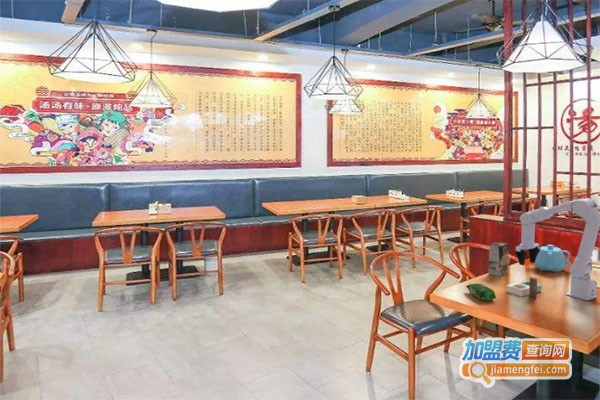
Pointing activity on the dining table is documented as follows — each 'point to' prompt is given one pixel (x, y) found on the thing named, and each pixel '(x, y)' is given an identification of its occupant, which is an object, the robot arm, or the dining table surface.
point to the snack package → (481, 291)
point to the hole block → (521, 288)
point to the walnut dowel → (533, 288)
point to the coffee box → (498, 258)
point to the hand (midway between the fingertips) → (527, 263)
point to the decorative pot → (551, 259)
